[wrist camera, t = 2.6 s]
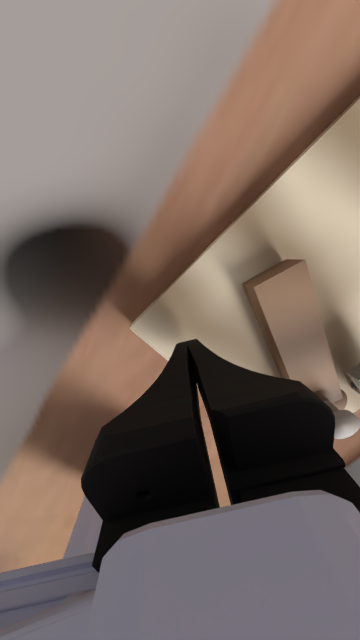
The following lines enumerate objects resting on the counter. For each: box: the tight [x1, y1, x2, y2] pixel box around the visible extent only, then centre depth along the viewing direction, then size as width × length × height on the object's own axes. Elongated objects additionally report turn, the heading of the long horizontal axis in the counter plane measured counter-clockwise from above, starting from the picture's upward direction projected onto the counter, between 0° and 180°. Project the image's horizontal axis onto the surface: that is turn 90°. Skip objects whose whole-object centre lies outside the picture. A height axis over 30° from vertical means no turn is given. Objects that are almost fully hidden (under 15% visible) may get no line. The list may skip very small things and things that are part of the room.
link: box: [242, 259, 360, 439], centre depth 11 cm, size 13×4×3 cm, turn 29°
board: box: [129, 95, 360, 413], centre depth 13 cm, size 20×20×1 cm
